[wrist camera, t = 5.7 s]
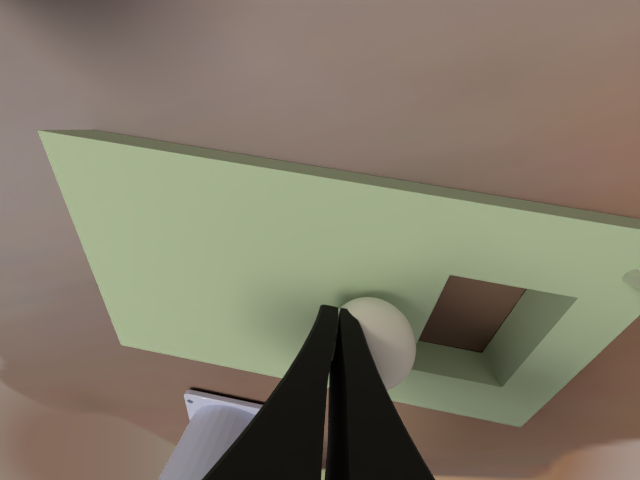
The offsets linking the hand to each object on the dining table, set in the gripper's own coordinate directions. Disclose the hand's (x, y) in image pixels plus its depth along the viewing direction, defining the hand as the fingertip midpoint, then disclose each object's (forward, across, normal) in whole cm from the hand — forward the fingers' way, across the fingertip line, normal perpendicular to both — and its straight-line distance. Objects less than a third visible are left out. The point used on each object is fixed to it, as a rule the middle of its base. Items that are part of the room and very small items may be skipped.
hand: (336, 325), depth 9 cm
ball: (0, -1, 0) cm, 1 cm away
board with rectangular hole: (+3, 0, +1) cm, 3 cm away
